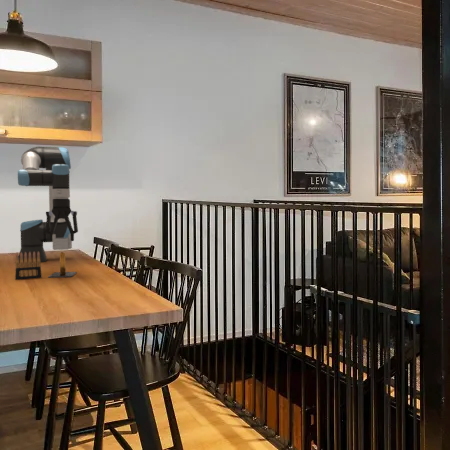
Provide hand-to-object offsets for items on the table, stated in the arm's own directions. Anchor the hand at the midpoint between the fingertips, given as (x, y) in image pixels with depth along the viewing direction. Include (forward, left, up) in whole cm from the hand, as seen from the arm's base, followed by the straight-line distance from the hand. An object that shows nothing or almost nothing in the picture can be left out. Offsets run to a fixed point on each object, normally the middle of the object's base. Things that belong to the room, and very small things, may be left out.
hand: (62, 248), depth 217 cm
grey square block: (0, 0, 0) cm, 0 cm away
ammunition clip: (+6, -14, -13) cm, 20 cm away
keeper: (0, 0, -13) cm, 13 cm away
